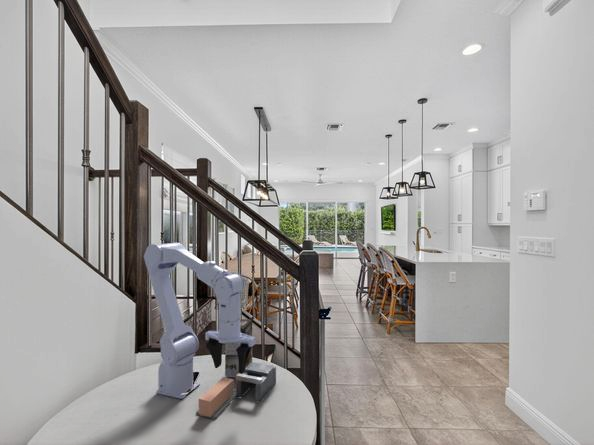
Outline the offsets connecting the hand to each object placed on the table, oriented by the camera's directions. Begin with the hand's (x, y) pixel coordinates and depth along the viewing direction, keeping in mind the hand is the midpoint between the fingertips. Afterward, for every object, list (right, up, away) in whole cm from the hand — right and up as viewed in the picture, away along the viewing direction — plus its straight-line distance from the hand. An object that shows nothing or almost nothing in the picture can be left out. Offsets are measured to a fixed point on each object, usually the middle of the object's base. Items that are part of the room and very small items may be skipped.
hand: (230, 368), depth 82 cm
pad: (-3, -10, +1) cm, 11 cm away
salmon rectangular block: (-4, -9, 0) cm, 10 cm away
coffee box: (-1, -10, +19) cm, 21 cm away
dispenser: (+6, -10, +7) cm, 14 cm away
